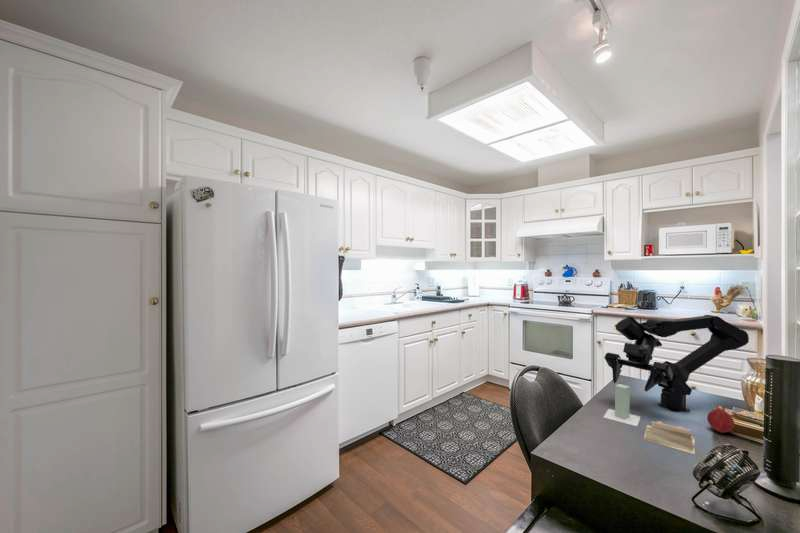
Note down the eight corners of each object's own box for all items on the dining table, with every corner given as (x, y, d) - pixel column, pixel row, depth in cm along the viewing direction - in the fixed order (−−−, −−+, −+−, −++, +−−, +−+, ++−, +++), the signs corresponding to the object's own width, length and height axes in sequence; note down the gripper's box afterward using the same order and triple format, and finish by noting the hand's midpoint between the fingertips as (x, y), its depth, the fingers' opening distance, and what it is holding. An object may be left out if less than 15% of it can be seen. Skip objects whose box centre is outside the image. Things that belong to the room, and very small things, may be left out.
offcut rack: (647, 426, 104) (647, 410, 104) (694, 438, 96) (694, 422, 96) (643, 441, 94) (643, 424, 95) (694, 456, 87) (695, 437, 87)
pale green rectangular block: (619, 414, 111) (619, 383, 111) (629, 417, 108) (629, 386, 108) (614, 416, 109) (615, 385, 109) (625, 419, 107) (625, 388, 107)
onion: (739, 439, 96) (739, 411, 96) (716, 437, 98) (716, 409, 98) (724, 429, 102) (724, 403, 102) (702, 427, 103) (702, 401, 103)
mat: (608, 410, 115) (608, 408, 115) (640, 418, 109) (640, 416, 109) (603, 419, 108) (603, 417, 108) (637, 428, 102) (637, 426, 102)
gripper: (606, 330, 122) (591, 365, 116) (670, 339, 106) (656, 380, 100) (616, 348, 126) (602, 383, 120) (678, 360, 111) (665, 400, 105)
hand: (629, 386), depth 111 cm, fingers open, 9 cm apart
